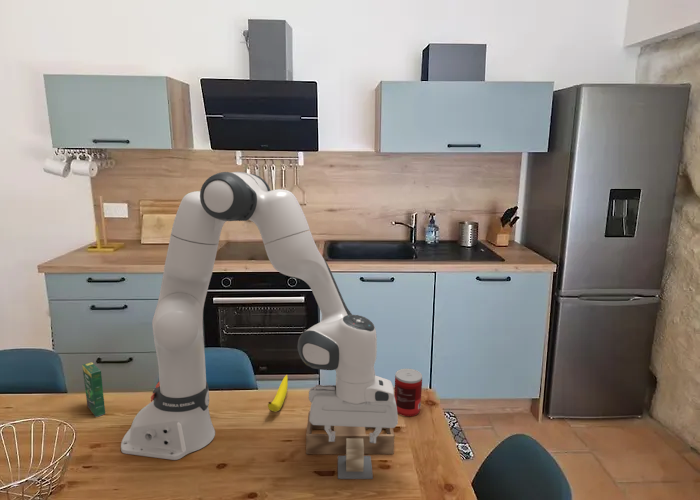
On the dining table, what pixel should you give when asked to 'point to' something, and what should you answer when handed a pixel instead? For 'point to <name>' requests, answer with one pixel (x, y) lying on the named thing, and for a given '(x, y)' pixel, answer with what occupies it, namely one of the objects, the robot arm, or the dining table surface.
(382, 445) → the crate
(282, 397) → the banana
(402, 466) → the dining table surface
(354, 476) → the mat
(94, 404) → the coffee box
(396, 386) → the canned food
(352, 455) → the block
